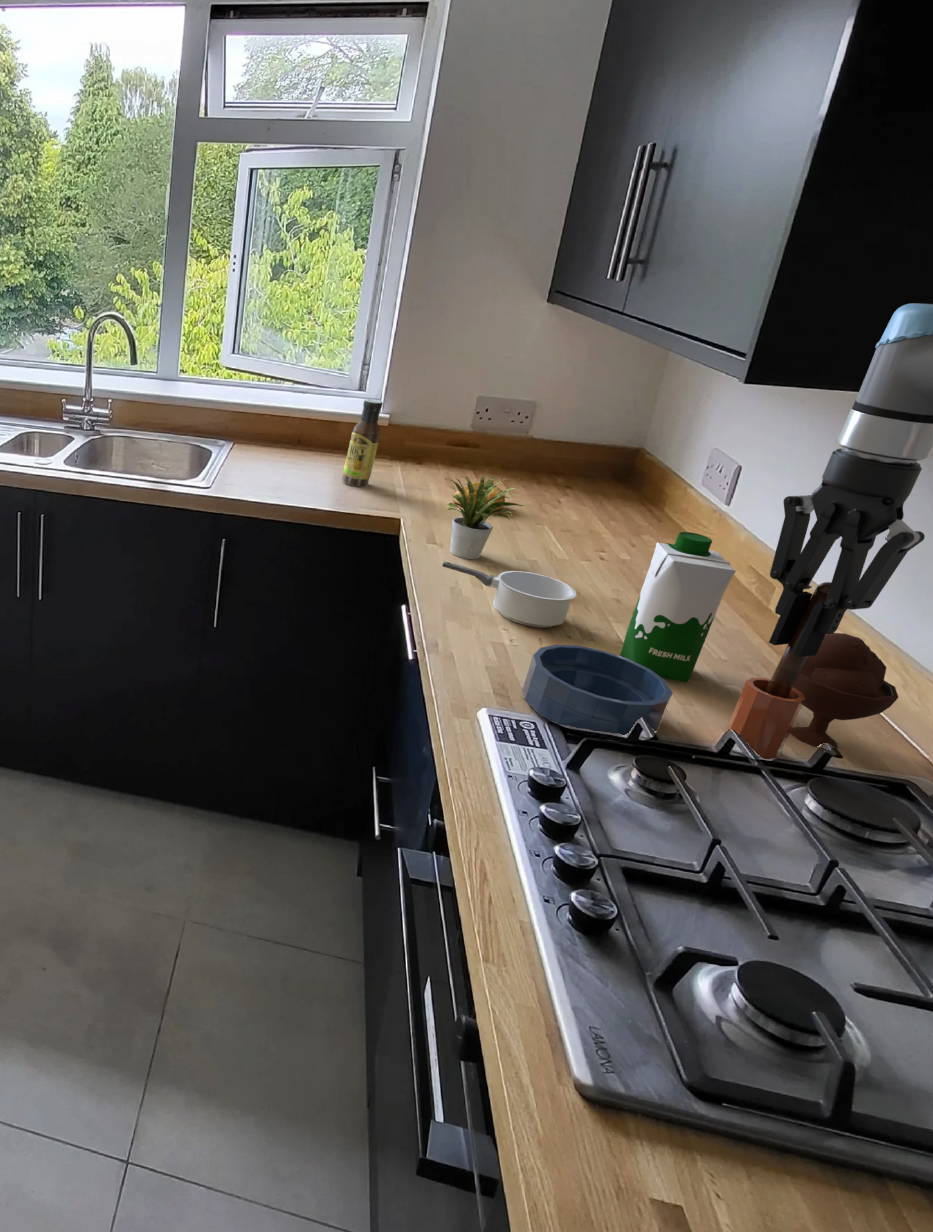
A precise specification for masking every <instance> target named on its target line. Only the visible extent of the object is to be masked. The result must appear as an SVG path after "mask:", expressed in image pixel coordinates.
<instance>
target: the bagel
mask: <svg viewBox="0 0 933 1232" xmlns="http://www.w3.org/2000/svg"><path fill="white" fill-rule="evenodd" d="M471 483H472V485H473V488H474V504H475V499H476V494H477V490H478V487H479V484H480V481H477V482H476V481H475V482H471ZM485 483H486V482H485V481H484V485H485ZM461 488H462V487H461ZM463 488H464V490H465V492H466V496H467V501H468V506H469V489H468V486H467V485H465V486H463ZM463 488H462V489H463ZM464 490H463V491H464ZM503 491H504V490H502V489H501V488H500V487H499V486H498V485H497V486H496V487H495V488H494V489H493V490H492V491H491V492H490V493H489V494H488V496H487V497H486V499H485V501H486V500H490V499H492V498H494V497H495V496H496V495H498V494H500V493H501V492H503ZM465 492H464V493H465ZM456 494H457V495H460V496H462V495H461V493H460V492H459V490H458V489H457V491H456V492H455V493H454V494H453V495H456ZM501 497H504V498H501ZM501 497H499V499H496V500H495V502H492V503H491V504H493V503H496V502H506V498H505V497H506V495H503V496H501ZM451 500H452V503H453V504H456V505H459V506H462V505H461V503H460V502H459V501H458V500H457V499H456V498H454V497H453V496H452V498H451ZM484 503H486V502H484ZM491 504H490V505H491ZM501 508H502V507H498V508H496V509H495V510H494V511H496V510H500V509H501ZM494 511H493V512H494Z"/></svg>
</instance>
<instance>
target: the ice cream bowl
mask: <svg viewBox="0 0 933 1232" xmlns="http://www.w3.org/2000/svg"><path fill="white" fill-rule="evenodd" d="M886 671H887V666H886V665H885V663H884V662H883V661H882V659H881V658H879V656H878V655H877V653H875V652H874V651H872V650H871V647H870V646H869V645H867V644H866V642H865V640H863V639H861V638H860V637H857V636H854V635H852V634H849V633H843V632H834V633H833V634H826V635H825V637H824V639H823V641H822V643H821V645H820V648H819V650H818V652H817V654H816V655H813V656H808V658H807V660H806V662H805V664H804V666H803V668H802V670H801V672H800V674H799V676H798V678H797V680H796V682H795V684H794V686H793V688H795V689H796V690H798V691H800V692H801V693H802V694H803V695H804V697H805V701H804V703H803V705H802V706H803V707H805V708H806V709H808V710H809V711H811V712H812V714H813V715H812V716H813V717H812V719H811V720H810V722H809V724H808V726H793V727H792V729H791V731H790V733H789V735H790V736H792V737H794V739H796V740H797V741H799V742H801V743H804V744H806V745H809V746H811V747H813V748H818V747H817V746H819V745H820V744H823V743H829V744H831V745H832V746H834V747H835V749H838V748H839V746H838V742H837V741H836V740H835V739H834V738H832V736H830V734H828V733H827V730H828V728H829V725H830V723H832V722H833V721H834V720H839V721H850V720H851V721H852V720H858V719H864V718H868V717H871V716H876V715H880V714H881V713H883V712H885V711H887V710H888V709H889V708H891V707H892V706H893V705H894V704H895V702H896V701H898V699H899V695H898V692H897V688H896V686H895V685H893V684H891V683H889V682H888V681H886V680H885V677H886ZM835 749H834V750H835Z"/></svg>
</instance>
